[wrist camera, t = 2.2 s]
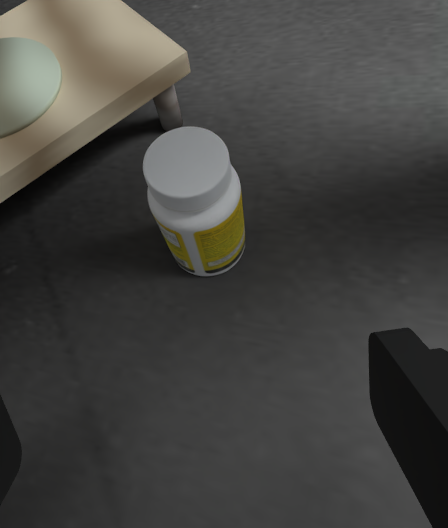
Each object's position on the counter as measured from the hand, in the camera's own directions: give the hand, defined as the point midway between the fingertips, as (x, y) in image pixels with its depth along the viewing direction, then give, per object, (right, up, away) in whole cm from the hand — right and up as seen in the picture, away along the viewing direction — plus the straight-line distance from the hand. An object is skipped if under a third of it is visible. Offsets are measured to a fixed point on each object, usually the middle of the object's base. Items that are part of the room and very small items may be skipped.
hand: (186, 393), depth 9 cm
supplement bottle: (0, +4, +17) cm, 18 cm away
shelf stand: (-12, +11, +21) cm, 27 cm away
